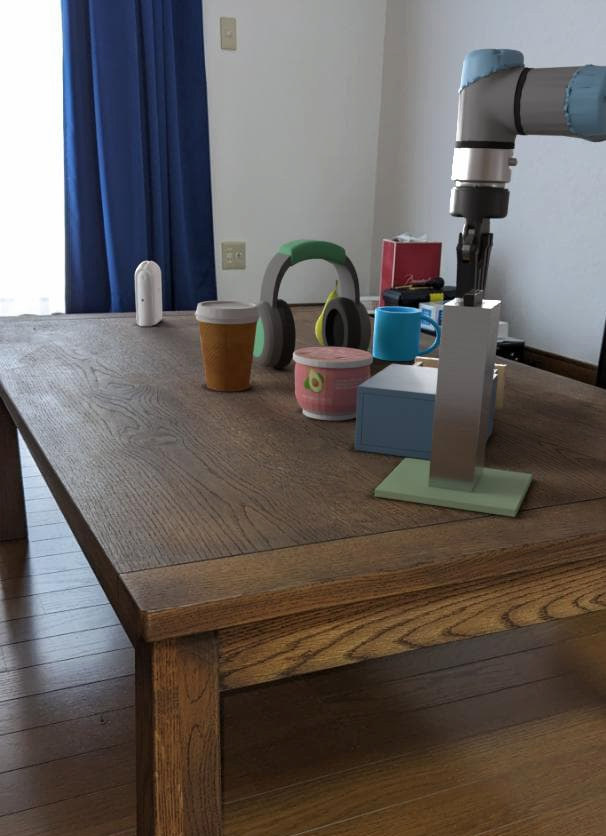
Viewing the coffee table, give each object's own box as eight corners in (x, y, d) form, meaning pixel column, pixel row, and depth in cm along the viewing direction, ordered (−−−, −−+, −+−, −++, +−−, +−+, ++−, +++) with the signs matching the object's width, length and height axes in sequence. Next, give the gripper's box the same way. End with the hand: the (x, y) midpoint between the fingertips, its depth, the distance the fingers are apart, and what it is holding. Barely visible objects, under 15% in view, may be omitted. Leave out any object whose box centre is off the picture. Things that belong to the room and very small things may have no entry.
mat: (531, 481, 96) (532, 474, 96) (515, 517, 86) (516, 509, 85) (404, 464, 100) (405, 457, 100) (374, 496, 90) (374, 489, 90)
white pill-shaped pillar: (155, 326, 183) (153, 263, 178) (134, 326, 183) (131, 263, 178) (164, 319, 192) (162, 259, 187) (144, 318, 192) (142, 258, 187)
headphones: (268, 375, 142) (269, 242, 135) (243, 362, 151) (244, 237, 144) (373, 368, 150) (380, 242, 142) (344, 356, 159) (349, 237, 151)
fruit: (317, 350, 163) (319, 282, 158) (312, 345, 168) (314, 278, 164) (348, 350, 164) (351, 283, 159) (342, 345, 169) (345, 279, 164)
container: (280, 406, 123) (281, 348, 120) (349, 401, 127) (352, 344, 124) (309, 425, 114) (311, 363, 111) (383, 420, 118) (386, 359, 115)
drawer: (420, 391, 130) (424, 351, 128) (506, 400, 126) (511, 359, 124) (388, 419, 115) (391, 374, 113) (484, 430, 111) (489, 384, 109)
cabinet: (388, 421, 118) (391, 363, 115) (491, 433, 113) (498, 374, 110) (354, 450, 105) (357, 386, 102) (469, 465, 101) (476, 398, 98)
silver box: (482, 475, 95) (502, 290, 87) (471, 492, 89) (492, 297, 82) (440, 470, 96) (457, 287, 89) (427, 486, 91) (443, 293, 84)
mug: (370, 359, 157) (372, 311, 154) (375, 351, 164) (377, 305, 161) (439, 363, 155) (443, 315, 152) (441, 355, 162) (445, 309, 159)
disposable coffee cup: (217, 377, 140) (216, 298, 135) (271, 384, 136) (272, 303, 131) (183, 389, 132) (181, 305, 127) (239, 397, 128) (239, 311, 123)
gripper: (501, 186, 109) (481, 378, 118) (517, 186, 121) (498, 361, 130) (441, 184, 112) (426, 372, 121) (462, 184, 123) (447, 356, 132)
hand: (463, 366), depth 125 cm, fingers closed
